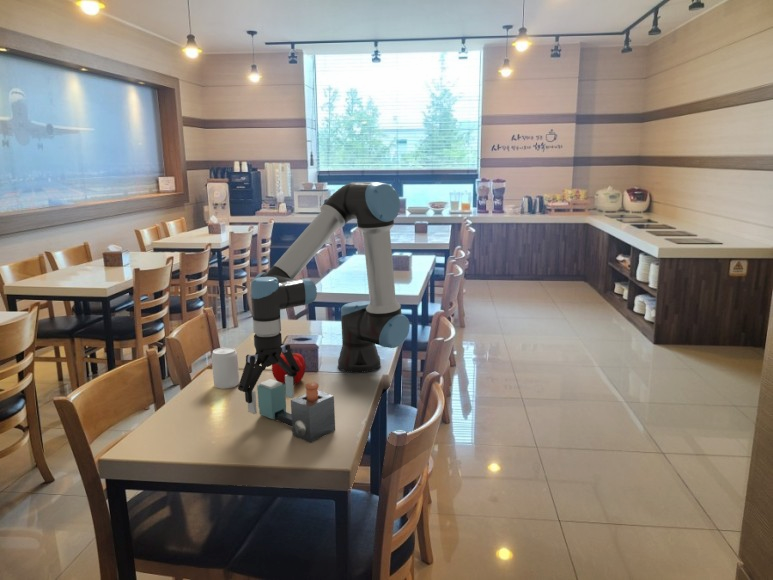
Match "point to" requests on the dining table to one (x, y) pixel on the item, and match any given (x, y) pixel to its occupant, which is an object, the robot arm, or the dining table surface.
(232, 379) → the beverage can
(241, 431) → the dining table surface
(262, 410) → the block
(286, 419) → the rail
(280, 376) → the tomato
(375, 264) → the robot arm
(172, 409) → the dining table surface
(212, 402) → the dining table surface
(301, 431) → the grey box
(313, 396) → the plunger
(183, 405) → the dining table surface
